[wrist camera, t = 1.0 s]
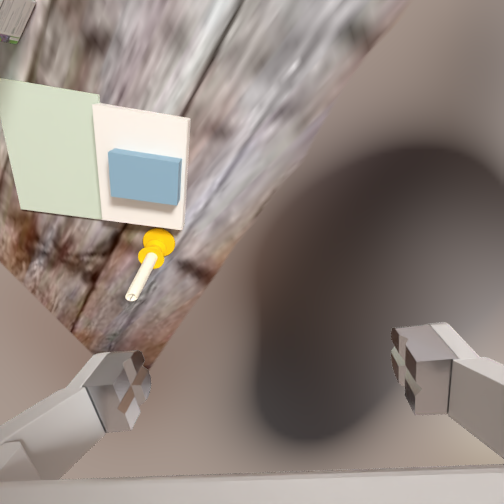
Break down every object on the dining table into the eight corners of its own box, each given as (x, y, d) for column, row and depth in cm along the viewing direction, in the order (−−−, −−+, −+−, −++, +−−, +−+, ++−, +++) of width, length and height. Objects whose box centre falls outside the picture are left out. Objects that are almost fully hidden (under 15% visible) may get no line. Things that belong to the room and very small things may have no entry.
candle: (181, 241, 51) (159, 299, 37) (162, 260, 53) (135, 322, 39) (156, 221, 49) (123, 275, 35) (137, 242, 51) (99, 300, 37)
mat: (-7, 76, 38) (-10, 76, 38) (99, 94, 40) (97, 94, 39) (23, 207, 47) (21, 209, 47) (109, 219, 49) (107, 220, 48)
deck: (100, 103, 40) (92, 104, 38) (190, 118, 42) (187, 120, 39) (108, 213, 48) (102, 219, 46) (184, 223, 49) (182, 230, 47)
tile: (114, 148, 41) (107, 151, 39) (182, 158, 42) (178, 162, 40) (117, 190, 44) (110, 196, 42) (180, 199, 45) (177, 205, 42)
